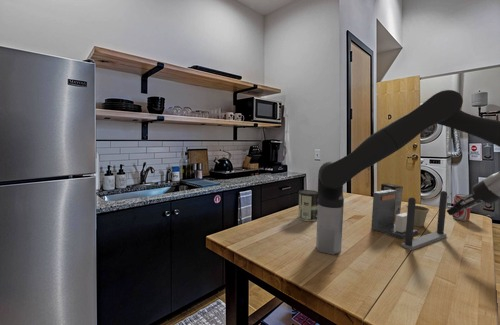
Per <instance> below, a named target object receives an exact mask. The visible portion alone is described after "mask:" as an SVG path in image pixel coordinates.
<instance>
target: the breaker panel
mask: <svg viewBox="0 0 500 325" xmlns="http://www.w3.org/2000/svg"><path fill="white" fill-rule="evenodd" d="M395 203H396V190H384V191H381V190H377V191H374V192H373V198H372V210H371V212H372V215H371V230H375V231H378V232H379V233H383V234H386V235H389V236H391V237H394V238H397V239H399V240H403V239H405V236H406V231H405V232H402V233H401V232H398V231H395V217H396V215H395ZM415 235H419V230H418V229H414V228H413V236H415Z"/></svg>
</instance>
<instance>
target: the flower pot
mask: <svg viewBox="0 0 500 325" xmlns="http://www.w3.org/2000/svg"><path fill="white" fill-rule="evenodd" d="M406 208H407V210H408V205H406ZM429 211H430V208H428V207H426V206H422V205H417V204H415V216H414V227H419V228H420V227H421V228H422V227H424V226H425V223H426V219H427V215H428V213H429Z"/></svg>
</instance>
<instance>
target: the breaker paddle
mask: <svg viewBox="0 0 500 325" xmlns="http://www.w3.org/2000/svg"><path fill="white" fill-rule="evenodd" d="M394 223H395V231H398V232H401V233H402V232H405V231H406V223H407V212H403V213H400V214H398V215H395V218H394Z"/></svg>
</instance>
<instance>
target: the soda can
mask: <svg viewBox="0 0 500 325" xmlns="http://www.w3.org/2000/svg"><path fill="white" fill-rule="evenodd" d="M467 195H468V194H463V193H456V194H455V196H454V197H453V205H452V207H454V204H456V203H457V202H458V201H460V200H461V199H463V198H465V196H467ZM471 211H472V207H471V208H468V209H464V210H462V211H459V212H457V213H456V214H454V215H451V216H452V218H453V219H454V220H457V221H462V222H467V221H469V220H470V217H471Z"/></svg>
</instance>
